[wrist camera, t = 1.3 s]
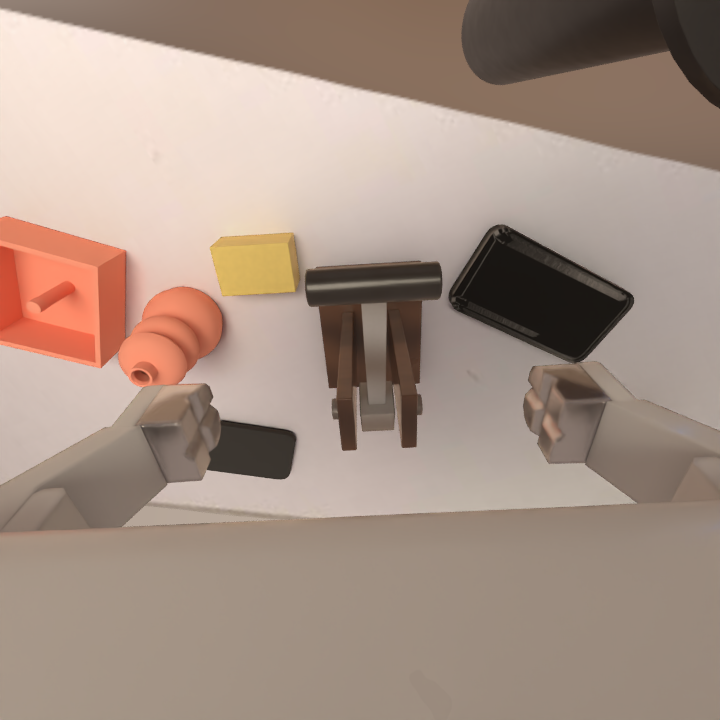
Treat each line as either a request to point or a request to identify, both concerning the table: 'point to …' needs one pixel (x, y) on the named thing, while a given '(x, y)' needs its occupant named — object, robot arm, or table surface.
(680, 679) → the robot arm
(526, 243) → the phone
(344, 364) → the brown wooden frame
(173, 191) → the table surface
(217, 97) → the table surface
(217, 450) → the phone
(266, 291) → the butter block
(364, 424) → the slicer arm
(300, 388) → the table surface
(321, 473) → the table surface
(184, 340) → the pottery
